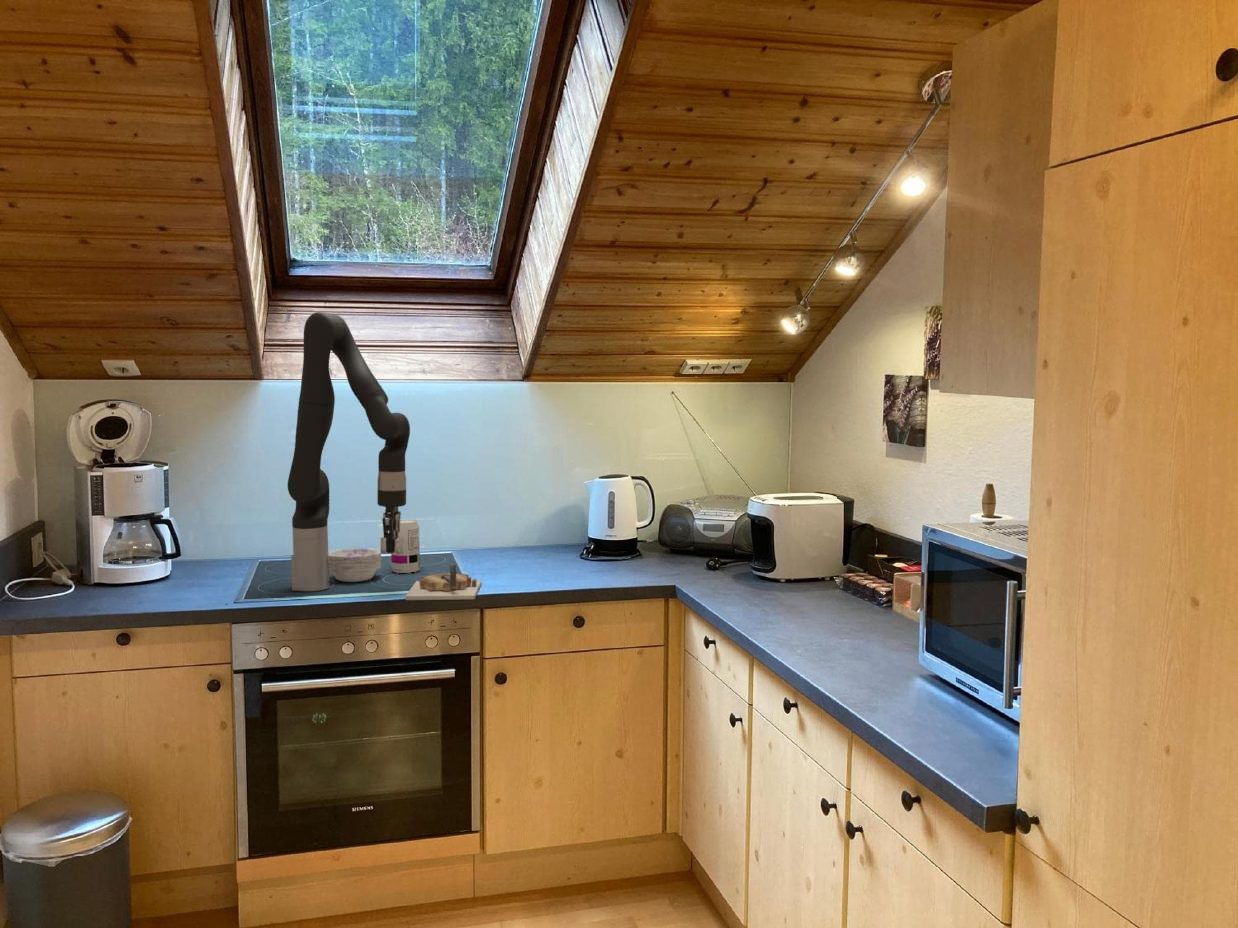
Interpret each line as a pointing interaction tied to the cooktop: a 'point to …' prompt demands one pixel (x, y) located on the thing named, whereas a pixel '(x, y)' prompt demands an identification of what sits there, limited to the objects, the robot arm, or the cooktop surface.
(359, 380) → the robot arm
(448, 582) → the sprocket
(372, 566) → the paper bowls
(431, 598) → the plate
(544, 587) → the cooktop surface
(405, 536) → the supplement can
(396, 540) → the link
